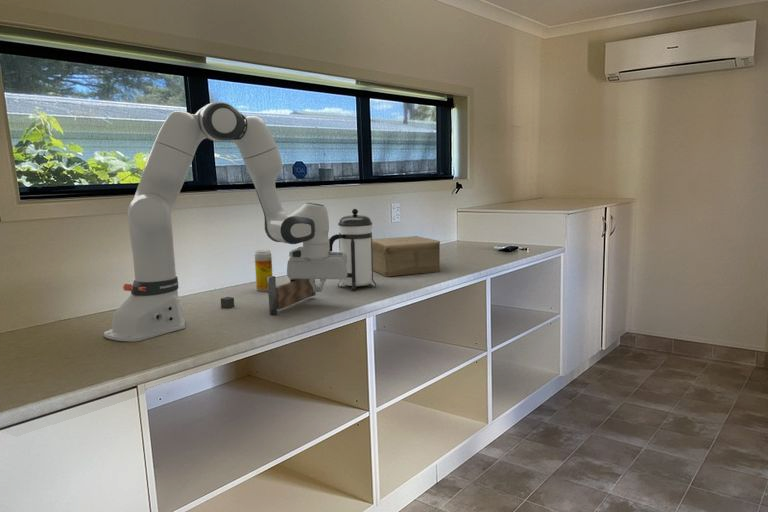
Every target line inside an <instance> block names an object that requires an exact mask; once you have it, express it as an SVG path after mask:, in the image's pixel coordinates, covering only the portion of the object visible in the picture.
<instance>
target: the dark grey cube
mask: <svg viewBox="0 0 768 512" xmlns="http://www.w3.org/2000/svg"><path fill="white" fill-rule="evenodd" d="M220 307H221V308H222V309H230V308H233V307H235V297H231V296H225V297H221V298H220Z"/></svg>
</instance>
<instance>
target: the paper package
mask: <svg viewBox="0 0 768 512" xmlns="http://www.w3.org/2000/svg"><path fill="white" fill-rule="evenodd" d="M440 244H441V240H438V239H433V238H427V237H423V236H418V235H417V236H415V235H414V236H400V237H399V236H398V237H384V238H372V255H373V272H375V273H378V274H380V275H382V276H385V277H396V276H397V277H398V276H406V275H417V274H418V275H419V274H428V273H439V272H441V270H440V257H441V255H440V253H441V251H440V249H441V248H440Z"/></svg>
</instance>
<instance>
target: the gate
mask: <svg viewBox="0 0 768 512" xmlns="http://www.w3.org/2000/svg"><path fill="white" fill-rule="evenodd" d="M314 283H315V284H316V280H315V281H314ZM316 293H317V292H313V287H312V285H311V284H310V282H309V279H298V280H296V281H293V282H287V283H284V284H282V285H278V286H276V299H277V310H282V309H284V308H286V307H289V306H292V305H295V304H297V303H299V302H301V301H304V300H306V299H309V298H312V297H315V296H316V295H317V294H316Z"/></svg>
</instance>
